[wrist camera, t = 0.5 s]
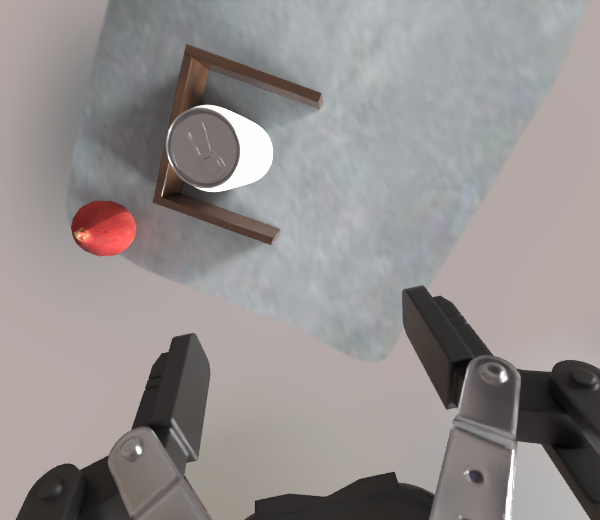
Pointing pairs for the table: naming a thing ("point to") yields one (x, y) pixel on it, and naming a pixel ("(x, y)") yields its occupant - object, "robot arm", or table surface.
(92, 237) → the onion
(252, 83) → the frame
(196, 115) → the can
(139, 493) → the robot arm
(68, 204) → the table surface
